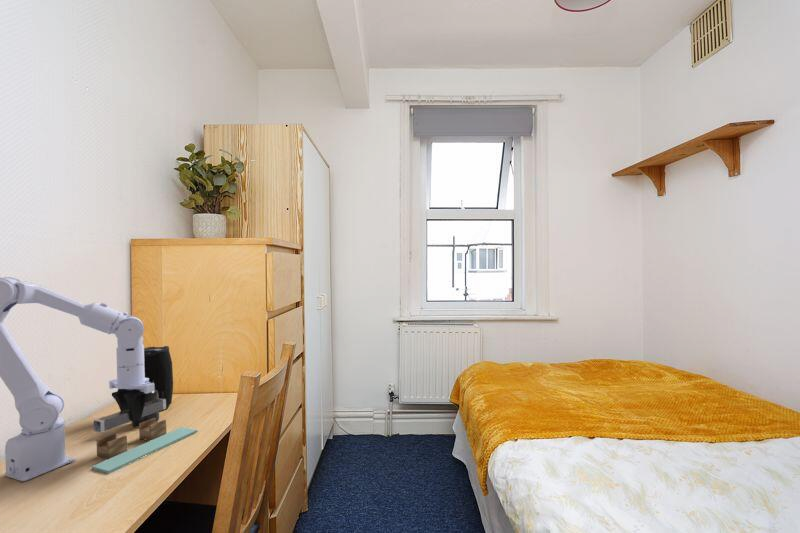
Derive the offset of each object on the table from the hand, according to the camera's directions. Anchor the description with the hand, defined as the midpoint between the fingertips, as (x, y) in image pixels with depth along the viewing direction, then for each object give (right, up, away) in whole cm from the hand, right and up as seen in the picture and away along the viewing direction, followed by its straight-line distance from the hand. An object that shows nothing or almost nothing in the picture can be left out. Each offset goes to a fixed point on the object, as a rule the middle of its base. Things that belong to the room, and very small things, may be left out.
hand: (132, 418), depth 97 cm
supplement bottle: (-6, -7, +15) cm, 18 cm away
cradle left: (-2, -7, -5) cm, 8 cm away
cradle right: (+2, -7, +5) cm, 8 cm away
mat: (+6, -7, -2) cm, 9 cm away
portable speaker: (-10, -8, +26) cm, 29 cm away
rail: (0, 0, 0) cm, 0 cm away
